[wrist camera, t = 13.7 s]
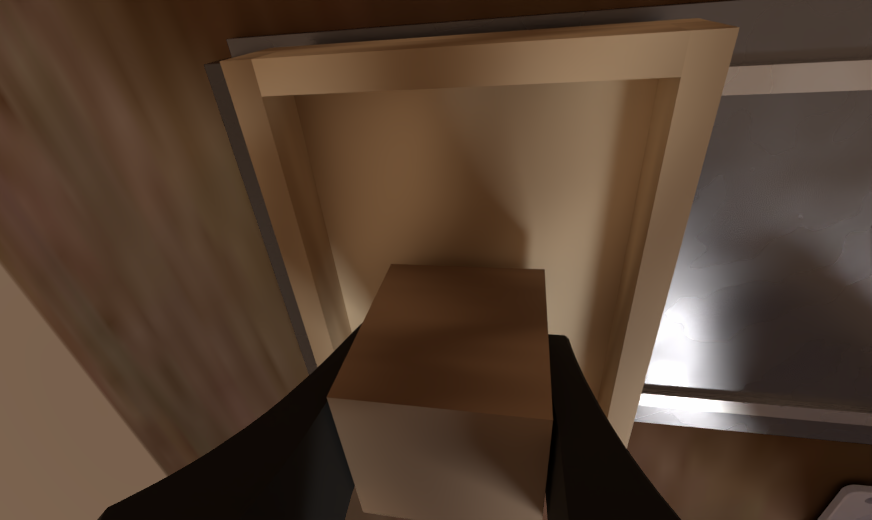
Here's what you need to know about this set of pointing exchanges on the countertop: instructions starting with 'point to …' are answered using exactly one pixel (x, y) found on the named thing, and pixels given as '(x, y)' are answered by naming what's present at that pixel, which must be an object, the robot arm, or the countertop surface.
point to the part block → (449, 395)
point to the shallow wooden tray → (491, 171)
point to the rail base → (730, 219)
